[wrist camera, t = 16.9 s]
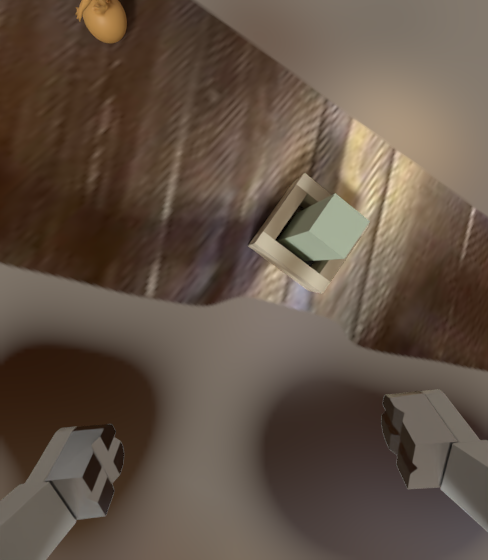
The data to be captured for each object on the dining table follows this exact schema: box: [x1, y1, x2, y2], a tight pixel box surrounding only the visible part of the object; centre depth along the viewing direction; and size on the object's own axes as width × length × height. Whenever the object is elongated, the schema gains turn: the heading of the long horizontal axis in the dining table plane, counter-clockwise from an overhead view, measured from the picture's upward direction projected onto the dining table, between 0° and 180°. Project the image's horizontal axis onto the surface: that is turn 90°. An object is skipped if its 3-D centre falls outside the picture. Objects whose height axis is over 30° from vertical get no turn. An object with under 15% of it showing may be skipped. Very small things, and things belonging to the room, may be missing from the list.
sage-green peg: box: [277, 193, 370, 261], centre depth 32 cm, size 4×4×10 cm
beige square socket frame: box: [248, 173, 369, 294], centre depth 35 cm, size 9×9×4 cm
